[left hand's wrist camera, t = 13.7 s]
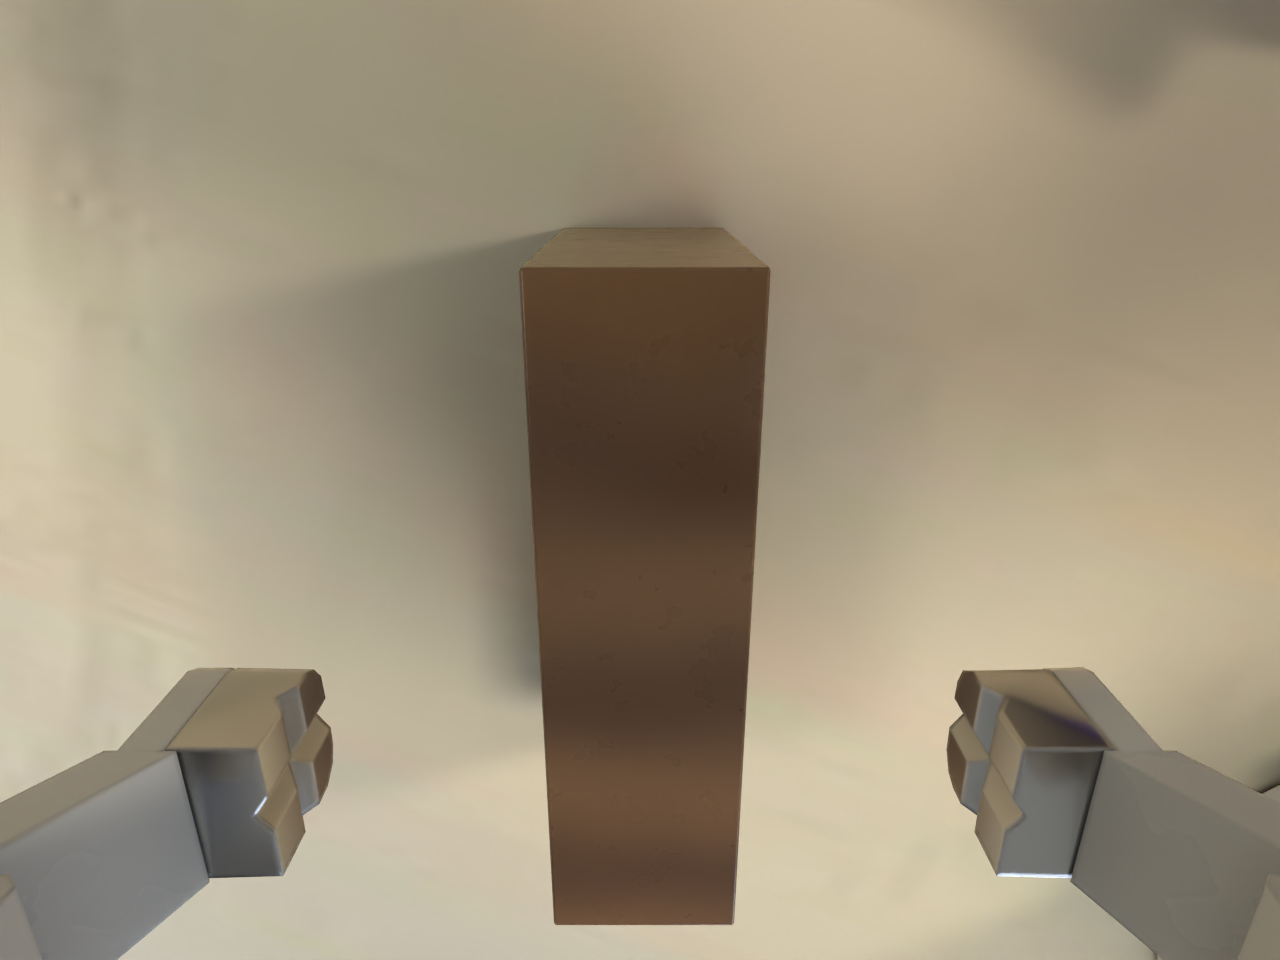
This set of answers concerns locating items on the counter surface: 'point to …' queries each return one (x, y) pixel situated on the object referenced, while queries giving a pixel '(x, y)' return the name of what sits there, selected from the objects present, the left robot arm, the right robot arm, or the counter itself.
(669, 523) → the box
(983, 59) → the counter surface
